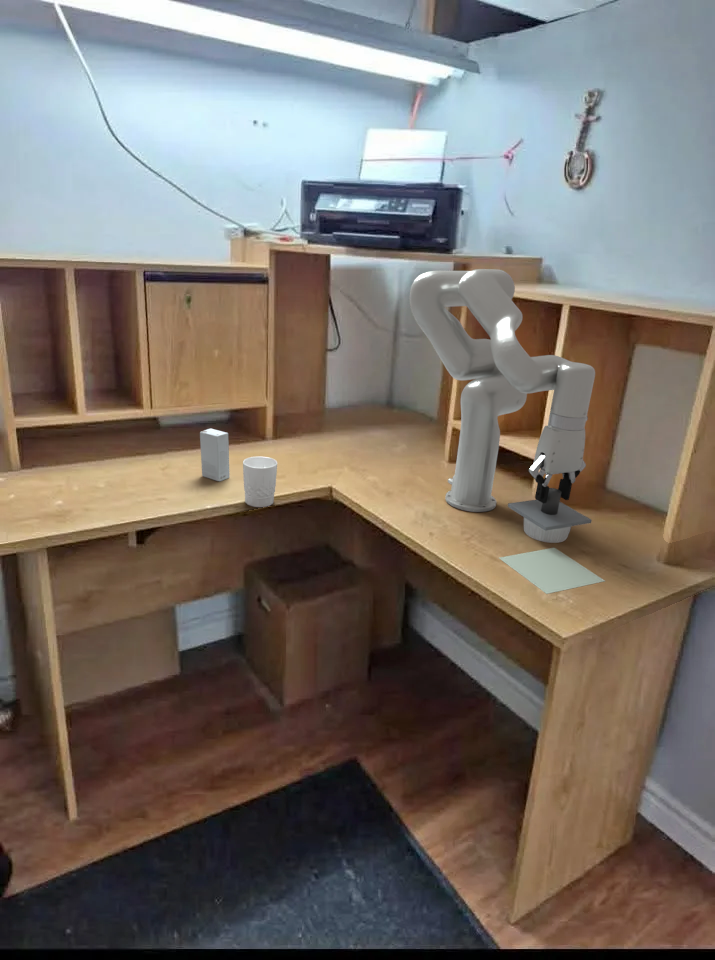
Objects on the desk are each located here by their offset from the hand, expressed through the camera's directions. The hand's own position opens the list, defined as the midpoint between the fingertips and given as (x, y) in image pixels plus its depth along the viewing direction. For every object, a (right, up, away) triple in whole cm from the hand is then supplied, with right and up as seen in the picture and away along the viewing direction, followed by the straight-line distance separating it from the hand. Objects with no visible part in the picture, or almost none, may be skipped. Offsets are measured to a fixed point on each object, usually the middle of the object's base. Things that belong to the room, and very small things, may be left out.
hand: (551, 498), depth 148 cm
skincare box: (-80, +5, +22) cm, 83 cm away
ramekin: (-1, -9, +3) cm, 9 cm away
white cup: (-67, -1, +9) cm, 67 cm away
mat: (-4, -14, -13) cm, 20 cm away
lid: (0, -4, +1) cm, 4 cm away
